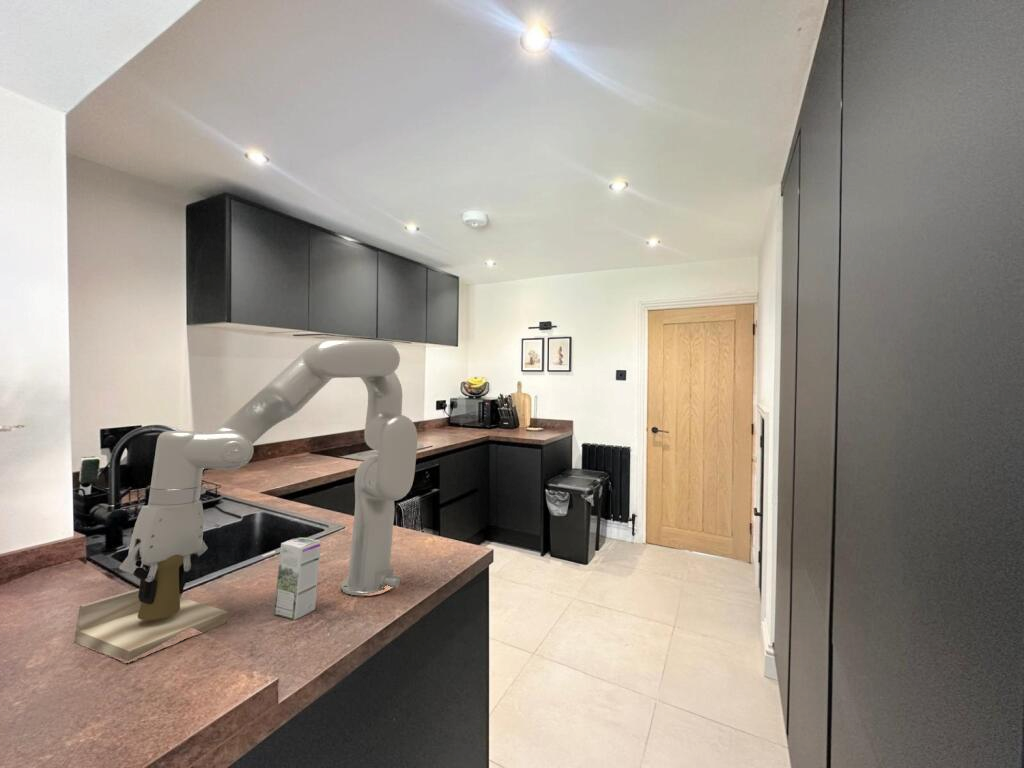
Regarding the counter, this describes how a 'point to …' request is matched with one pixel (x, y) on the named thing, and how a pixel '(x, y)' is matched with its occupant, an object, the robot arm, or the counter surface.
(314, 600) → the syrup box
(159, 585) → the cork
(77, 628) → the shelf
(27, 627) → the counter surface
